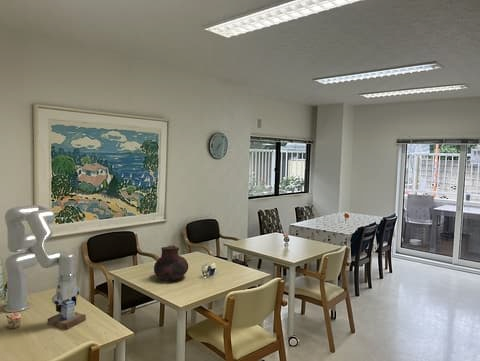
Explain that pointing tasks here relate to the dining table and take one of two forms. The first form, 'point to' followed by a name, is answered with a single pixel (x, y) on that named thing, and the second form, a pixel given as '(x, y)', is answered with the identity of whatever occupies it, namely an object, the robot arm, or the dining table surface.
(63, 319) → the walnut stand
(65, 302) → the medicine box
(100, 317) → the dining table surface
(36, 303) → the dining table surface
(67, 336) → the dining table surface
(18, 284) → the robot arm
